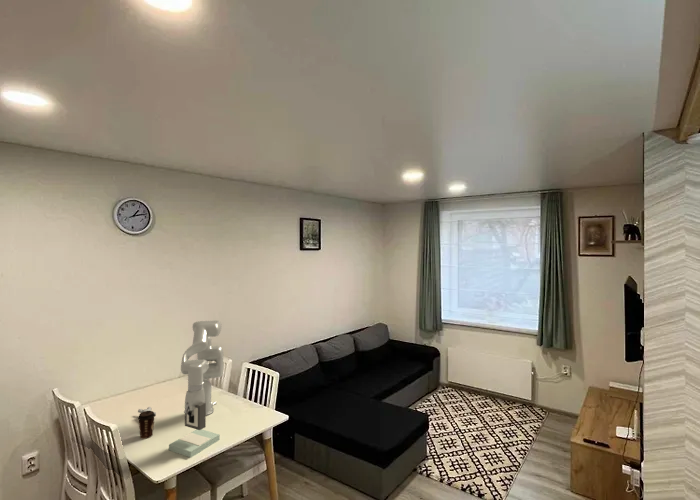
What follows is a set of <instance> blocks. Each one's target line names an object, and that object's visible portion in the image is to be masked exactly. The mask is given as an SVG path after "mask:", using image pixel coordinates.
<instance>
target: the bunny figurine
mask: <svg viewBox="0 0 700 500" xmlns="http://www.w3.org/2000/svg"><path fill="white" fill-rule="evenodd" d="M145 411H152V407H151V406H148V407H146V408H145V409H142V408H138V411H137V413H138V414H140V413H142V412H145ZM153 412H154V411H153ZM154 413H155V416H154V418H155V417H156V416H157V412H154Z"/></svg>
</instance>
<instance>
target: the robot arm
mask: <svg viewBox="0 0 700 500" xmlns="http://www.w3.org/2000/svg"><path fill="white" fill-rule="evenodd" d="M192 330H193V340H192V344H191V345H190V346H189V347H188V348H187V349H186V350H185V351H184V353H183V354H182V358H181V364H180V372H181V374H183V375H187V380H188V381H187V391H186V393H185V400H184V411H183V413H184V414H185V413H186V414H188V415H189V422H190V423H194V415H193V413H194V410H195V406H196V404H198V403H201V402H203V403H206V416H210V415H211V414H213V413H214V411H215V408H214V406H216V405H217V401H213V402H212V382H211V381H210V380H209V379H217V378H218V379H219V378H221V377H223V374H224V350H223V347H222V346H221V345H212V338H213V337H216V338H217V337H218V336H220V334H221V331H222V323H221V321H220V320H199V321H198V320H197V321H195V322H193V323H192ZM196 354H197V355H196ZM194 355H196V356H197V359H190V358H191V357H192V356H194ZM189 359H190V360H189Z"/></svg>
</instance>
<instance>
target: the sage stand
mask: <svg viewBox="0 0 700 500" xmlns="http://www.w3.org/2000/svg"><path fill="white" fill-rule="evenodd" d="M219 441H220V434H219V433H216V432H213V431H209V430H205V429H201V430H197V429H194V430H193V431H191V432H189V433H188V434H185V435H183V436H182V437H180V438H178V439H176V440H174V441H172V442H170V443H169V444H168V451H170V452H173V453H177V454H180V455H181V456H184V457H187V458H193V457H194V456H196V455H197V454H199V453H200V452H203V451H204V450H206V449H207V448H209V447H211V446H212V445H213V444H215V443H217V442H219Z"/></svg>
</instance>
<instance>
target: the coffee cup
mask: <svg viewBox="0 0 700 500" xmlns="http://www.w3.org/2000/svg"><path fill="white" fill-rule="evenodd" d="M154 416H155V413H154V411H152V410H151V411H145V412H142V413H139V415H138V416H137V420H138V427H139V428H138V429H139V435H140V436H139V438H140V439H142V440H143V439H149V438H151V437H152V436H153V433H154V425H155V417H156V416H155V417H154Z"/></svg>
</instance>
